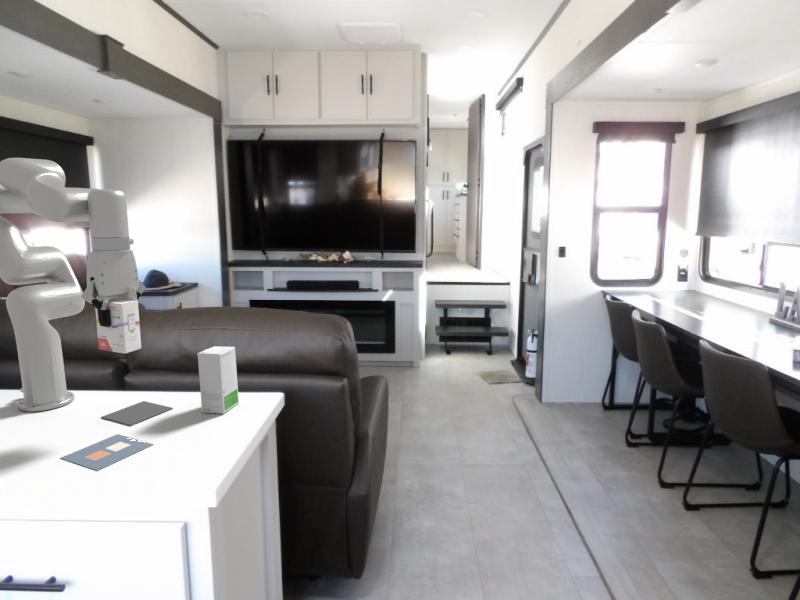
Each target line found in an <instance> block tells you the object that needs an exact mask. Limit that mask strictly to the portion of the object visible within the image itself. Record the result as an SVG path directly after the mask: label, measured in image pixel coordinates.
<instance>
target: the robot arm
mask: <svg viewBox="0 0 800 600" xmlns="http://www.w3.org/2000/svg"><path fill="white" fill-rule="evenodd" d="M66 180H67V179H66V174H65V171H64V170H63V168H62V166H60V165H59V164H58V163H57V162H55V161H53V160H49V159H40V158H29V157H28V158H26V157H8V158H6V159H2V160H1V161H0V279H1V280H2V281H3V282H4V283H5V284H7V285H11V286H20V285H21V286H20V287H17V288H15V289H13V290H11V292H9V293H8V294H7V296H6V300H5V305H6V306H5V307H6V309H7V313H8V317H9V318H10V321H11V324H12V328H13V333H14V337H15V343H16V350H17V357H18V362H19V363H18V366H19V371H20V378H21V388H20V392H21V393H23V399H21V400H20V401H18V402H17V409H18V410H20V411H22V412H28V413H29V412H43V411H48V410H53V409H57V408H61V407H64V406H66V405H68V404H71V403H72V402H73V401H74V400H75V394H74V392H72V391H68V390H67V389H68V388H67V382H66V374H65V365H64V356H63V349H62V342H61V341H62V340H61V336H60V333H59V332H58V331H57V329H56V328H54V327H53V326H52V324H50V322H49V321H51V320H57V319H61V318H65V317H71V316H74V315H77V314H80V313H81V312H82V311H83V310H84V308H85V306H86V304H85V303H86V302H88V303H89V304H90V305H92V306H93V307H94V310H95V309H97V310H98V321H99V323H100V326H104V327H110V326H111V318H110V310H109V309H107V306H108V301H109V298H110V297H112V296H116V295H122V294H128V293H129V292H130V287H134V288H135V289H136V295H137V301H138V300H139V299H140V297H141V295H142V294H143V293H144V292H145V291H146V289H147V288H146V286H145V284H144V283H143V282H142V281H141V280H140V278H139V274H138V266H137V262H136V258H135V254H134V251H133V250H131V245H134V243H135V240H134V239H133V238H130V234H129V233H130V232H129V231H130V230H129V221H128V220H129V219H128V209H127V208H128V207H127V196H126V194H125V192H124V191H123V190H119V189H111V188H109V189H108V188H107V189H105V188H104V189H103V188H89V187H88V188H84V187H66ZM2 214H35V215H38V216H39V217H42V218H44V219H46V220H48V221H52V222H56V223H75V222H76V223H77V222H89V228H90V238H91V248H92V251H89V252H88V255H87V261H86V288H85V290H84V291H83V289H82V287H81V285H80V283H79V280H78V279H77V277H76V275H75V272H74V271H73V268H72V266H71V264H70V261H69V259H68V258H67V256H66V254H65V253H64V252H63V251H62V250H61V249H59V248H57V247H54V246H51V245H50V246H49V245H48V246H47V245H46V246H45V245H44V246H31V245H28V243H27V241H26V239H25V237H24V235H23V233H22V232H21V230H20V229H19V228H18V227H17V226H16V225H15V224H14V223H12V222H11V221H9V220H8V219H6V218H5V217H3V216H2ZM22 285H24V286H22ZM94 296H95V297H96V298H95V297H94Z"/></svg>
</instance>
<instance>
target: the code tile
mask: <svg viewBox="0 0 800 600" xmlns="http://www.w3.org/2000/svg"><path fill="white" fill-rule="evenodd" d="M127 438H131V439H127ZM132 439H135V440H136V441H130V440H132ZM138 440H139V439H136V438H134V437H131V436H130V437H129V436H127V435H126V436H125V435H122V434H118V433H116V434H115V435H112V436H109V437H107V438H104V439H103V440H100V441H98V442H95V443H92V444H91V445H88V446H85V447H83V448H81V449H79V450H76V451H73V452H71V453H72V454H71V453H69V454H66V455H63V456H62V457H60V459H61V460H64V461H67V462H70V463H73V464H76V465H78V466H82V467H85V468H88V469H90V470H93V471H97V472H98V471H101V470H102V469H104V468H106V467H109V466H111V465H113V464H115V463H117V462H119V461H121V460H123V459H124V460H125V459H126V458H128V457H131V456H132V455H135V454H137V453H140V452H141V451H143V450H145V448H146V449H148V448H149V446H150V447H152V446H154V445H153V444H154V443H150V442H146V441H144V442H145V443H144V442H138ZM151 445H152V446H151ZM147 447H148V448H147Z"/></svg>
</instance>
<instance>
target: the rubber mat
mask: <svg viewBox="0 0 800 600" xmlns="http://www.w3.org/2000/svg"><path fill="white" fill-rule="evenodd" d="M173 409H174V407H170V406H167V405H162V404H157V403H155V402H154V403H153V402H149V401H146V400H143V401H140V402H138V403H135V404H132V405H129V406H127V407H123V408H121V409H118V410H115V411H113V412H110V413H108V414H105V415H101V417H100V418H101V419H102V420H103V419H104V420H107V421H111V422H114V421H115V422H114V423H117V424H118V423H119V424H121V425H125V424H126V426H130V427H133V426H134V424H135V425H137V424H139V422H140V423H142V422H145V421H147V420H149V419H152V418H154V417H156V416H159V415H162V414H164V413H166V412H169V411H171V410H173ZM144 420H145V421H144ZM141 421H142V422H141Z"/></svg>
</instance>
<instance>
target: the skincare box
mask: <svg viewBox="0 0 800 600" xmlns="http://www.w3.org/2000/svg"><path fill="white" fill-rule="evenodd" d="M196 355H197V362H198V363H197V364H198V377H199V387H200V388H199V390H200V400H201V401H200V404H201V413H204V414H205V413H206V414H215V413H216V414H217V415H218V414H220V415H223V414H225V413H228V412H229V411H230V410H232V409H233V408H234V407H236V406H238V404H239V402H240V399H239V384H238V373H237V372H238V370H237V369H238V368H237V359H236V358H237V356H236V347H235V346H212V347H209V348H206V349H204V350H202V351H200V352H198V353H196ZM216 414H215V415H216Z"/></svg>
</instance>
